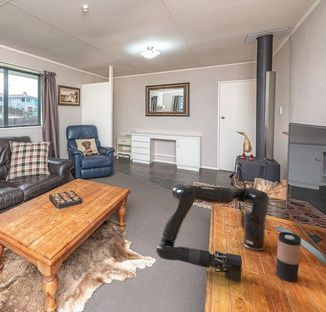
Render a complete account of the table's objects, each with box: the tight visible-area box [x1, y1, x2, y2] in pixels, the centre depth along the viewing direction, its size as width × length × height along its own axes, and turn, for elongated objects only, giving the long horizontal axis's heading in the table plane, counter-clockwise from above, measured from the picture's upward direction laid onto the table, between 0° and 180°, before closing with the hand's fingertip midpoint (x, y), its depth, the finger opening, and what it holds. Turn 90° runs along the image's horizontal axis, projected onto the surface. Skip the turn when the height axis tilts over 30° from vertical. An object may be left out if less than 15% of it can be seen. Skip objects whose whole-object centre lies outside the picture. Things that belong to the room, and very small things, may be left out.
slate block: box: [224, 252, 243, 282], centre depth 105 cm, size 4×6×10 cm
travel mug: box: [276, 231, 302, 283], centre depth 103 cm, size 8×8×20 cm
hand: (240, 266), depth 104 cm, fingers closed on slate block, 4 cm apart
